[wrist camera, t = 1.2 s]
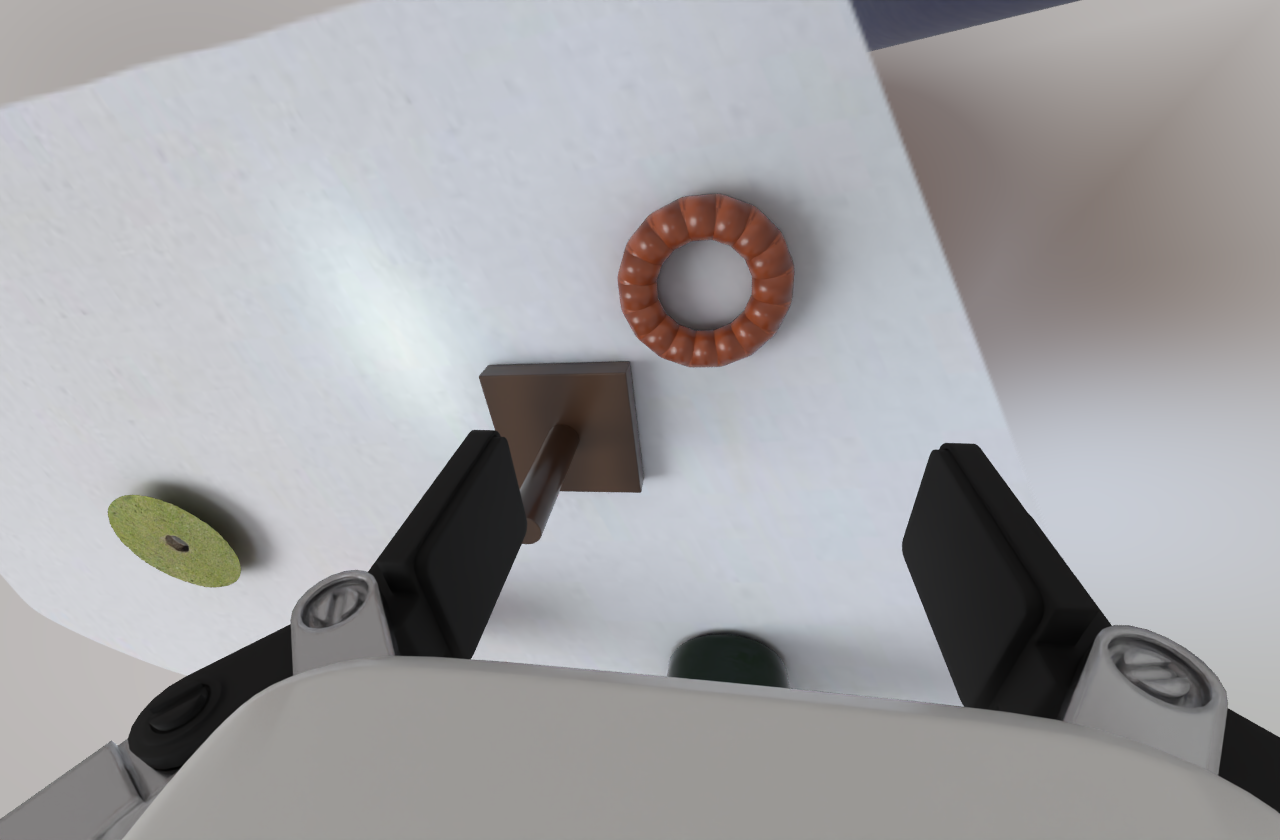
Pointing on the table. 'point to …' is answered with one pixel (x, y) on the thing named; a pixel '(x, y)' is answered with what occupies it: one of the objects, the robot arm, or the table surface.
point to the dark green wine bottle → (728, 661)
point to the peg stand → (565, 431)
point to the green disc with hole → (174, 541)
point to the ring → (696, 223)
